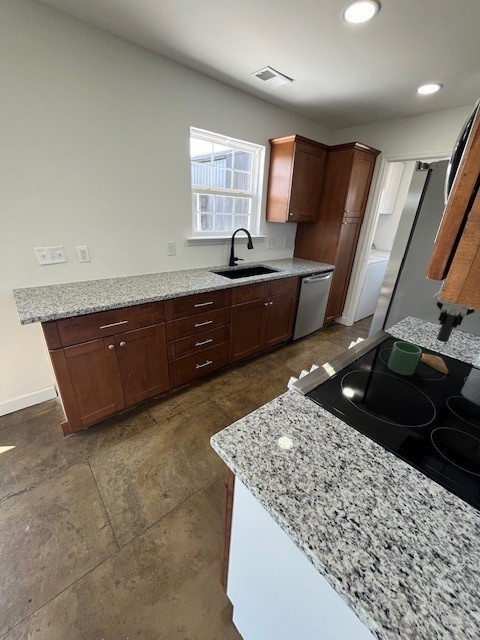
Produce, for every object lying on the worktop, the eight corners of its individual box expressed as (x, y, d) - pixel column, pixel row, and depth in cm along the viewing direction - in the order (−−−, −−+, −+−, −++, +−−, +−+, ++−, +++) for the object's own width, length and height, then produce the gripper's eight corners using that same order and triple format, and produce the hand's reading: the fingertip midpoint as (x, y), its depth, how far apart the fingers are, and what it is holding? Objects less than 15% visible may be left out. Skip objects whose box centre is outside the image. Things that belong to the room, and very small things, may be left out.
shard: (447, 375, 95) (449, 371, 94) (422, 370, 97) (424, 365, 97) (440, 360, 104) (442, 356, 103) (418, 356, 107) (419, 352, 106)
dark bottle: (449, 341, 86) (462, 310, 81) (443, 342, 85) (456, 311, 80) (440, 337, 88) (452, 306, 84) (434, 338, 87) (446, 307, 83)
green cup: (419, 372, 96) (427, 351, 92) (401, 377, 93) (409, 355, 89) (399, 360, 103) (405, 340, 99) (382, 364, 100) (388, 343, 97)
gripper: (435, 264, 79) (416, 321, 86) (509, 275, 69) (481, 337, 77) (438, 261, 84) (420, 314, 92) (507, 270, 75) (481, 329, 82)
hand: (448, 324), depth 84 cm, fingers closed on dark bottle, 3 cm apart
